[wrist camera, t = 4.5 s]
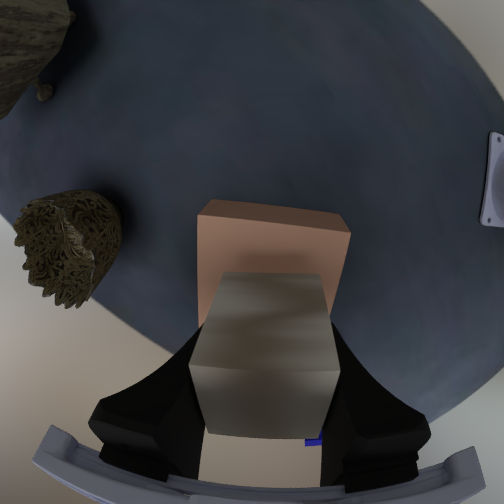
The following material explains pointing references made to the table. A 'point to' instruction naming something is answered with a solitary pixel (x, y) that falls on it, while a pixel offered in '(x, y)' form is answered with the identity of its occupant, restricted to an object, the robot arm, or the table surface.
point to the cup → (69, 243)
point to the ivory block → (266, 357)
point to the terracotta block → (267, 245)
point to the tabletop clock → (29, 45)
